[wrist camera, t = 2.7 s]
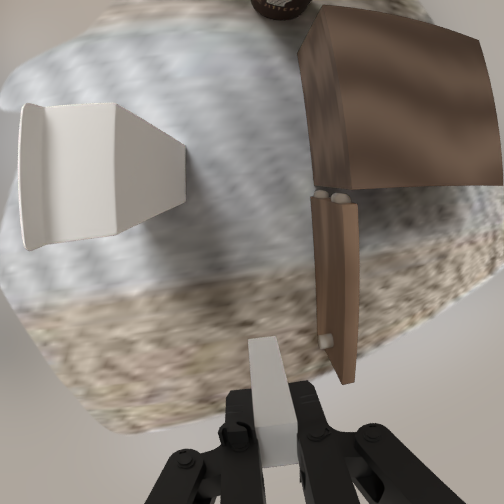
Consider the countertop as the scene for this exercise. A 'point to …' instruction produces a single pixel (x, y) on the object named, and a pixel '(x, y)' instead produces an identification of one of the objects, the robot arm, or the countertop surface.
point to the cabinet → (396, 103)
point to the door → (337, 279)
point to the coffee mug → (280, 8)
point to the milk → (93, 172)
